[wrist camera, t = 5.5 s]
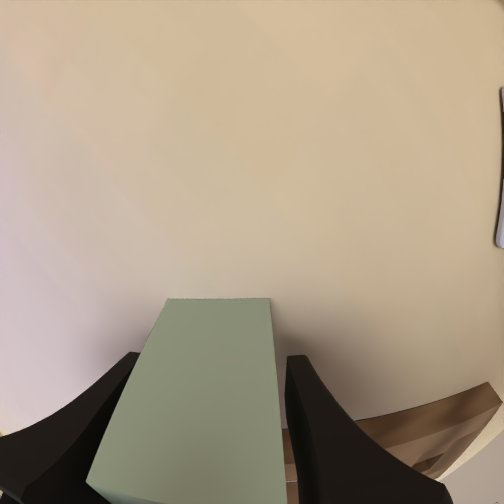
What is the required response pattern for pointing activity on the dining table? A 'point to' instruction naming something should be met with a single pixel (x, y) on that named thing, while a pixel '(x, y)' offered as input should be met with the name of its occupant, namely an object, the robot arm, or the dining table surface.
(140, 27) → the dining table surface
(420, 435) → the socket board
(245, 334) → the peg
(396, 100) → the dining table surface
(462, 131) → the dining table surface
